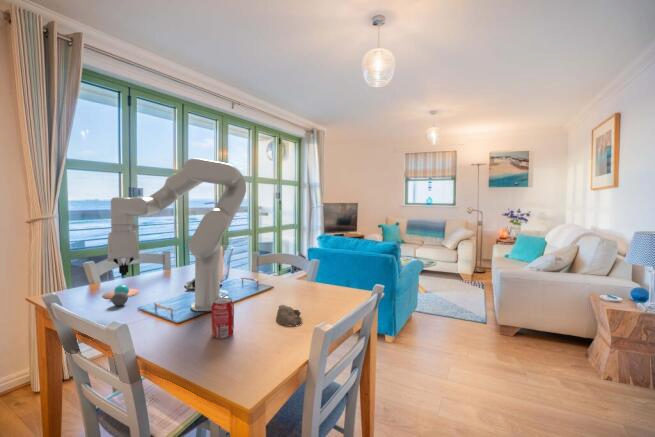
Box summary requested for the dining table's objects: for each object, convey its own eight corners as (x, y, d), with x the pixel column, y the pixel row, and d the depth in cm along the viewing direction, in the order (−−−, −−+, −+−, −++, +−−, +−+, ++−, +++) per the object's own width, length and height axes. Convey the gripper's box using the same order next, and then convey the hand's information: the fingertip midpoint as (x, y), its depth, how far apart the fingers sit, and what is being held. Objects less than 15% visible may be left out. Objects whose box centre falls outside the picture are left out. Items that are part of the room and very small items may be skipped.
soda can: (226, 328, 106) (226, 295, 105) (238, 334, 101) (238, 299, 100) (207, 335, 100) (207, 300, 99) (219, 342, 96) (219, 305, 95)
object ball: (132, 288, 135) (131, 294, 138) (124, 280, 136) (123, 287, 139) (119, 295, 130) (119, 302, 133) (111, 287, 131) (111, 294, 134)
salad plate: (178, 284, 158) (177, 275, 157) (212, 279, 169) (212, 271, 169) (188, 294, 143) (188, 284, 142) (225, 287, 154) (225, 278, 154)
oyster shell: (276, 328, 108) (276, 315, 107) (275, 314, 120) (275, 302, 119) (302, 327, 109) (303, 313, 109) (299, 313, 122) (299, 301, 121)
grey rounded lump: (129, 290, 126) (132, 301, 127) (118, 288, 127) (121, 300, 128) (118, 297, 120) (121, 309, 122) (106, 296, 122) (110, 307, 123)
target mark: (144, 289, 147) (144, 288, 147) (129, 298, 133) (129, 298, 133) (113, 289, 145) (113, 288, 145) (95, 299, 131) (95, 298, 131)
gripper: (144, 227, 126) (144, 270, 127) (99, 228, 117) (100, 275, 118) (146, 228, 120) (146, 274, 121) (99, 230, 111) (100, 279, 112)
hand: (123, 274), depth 120 cm, fingers closed
